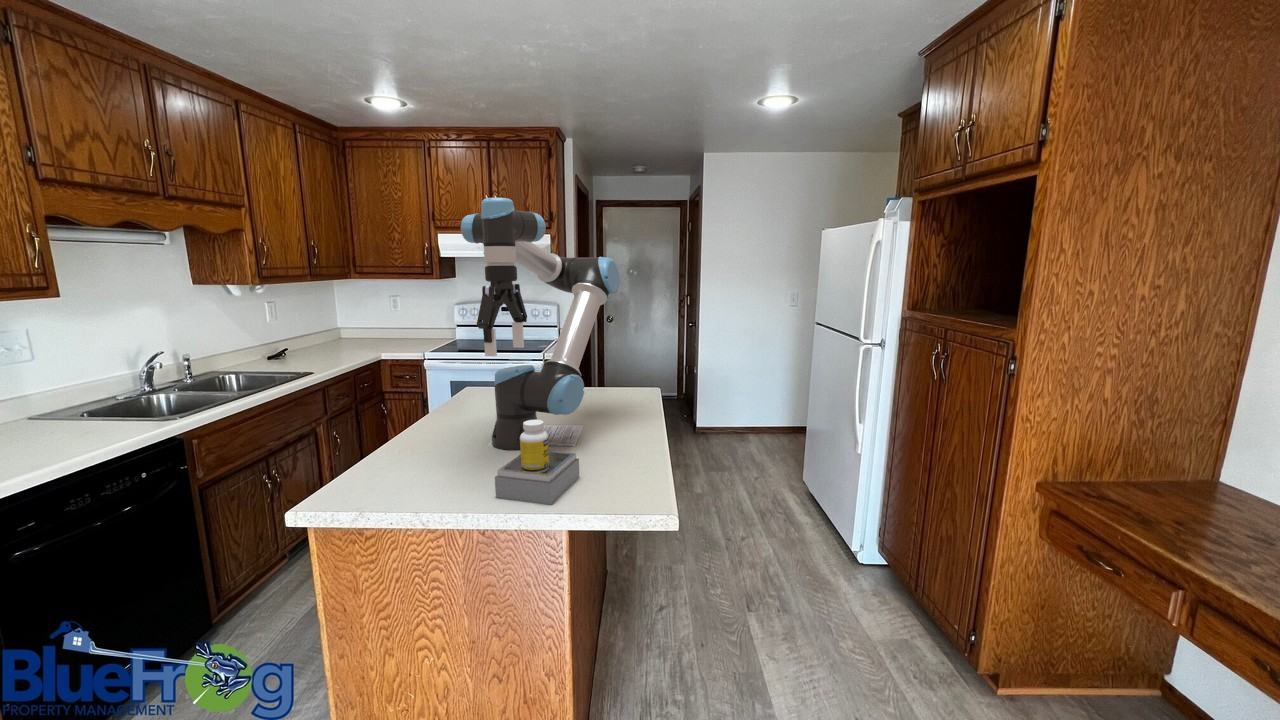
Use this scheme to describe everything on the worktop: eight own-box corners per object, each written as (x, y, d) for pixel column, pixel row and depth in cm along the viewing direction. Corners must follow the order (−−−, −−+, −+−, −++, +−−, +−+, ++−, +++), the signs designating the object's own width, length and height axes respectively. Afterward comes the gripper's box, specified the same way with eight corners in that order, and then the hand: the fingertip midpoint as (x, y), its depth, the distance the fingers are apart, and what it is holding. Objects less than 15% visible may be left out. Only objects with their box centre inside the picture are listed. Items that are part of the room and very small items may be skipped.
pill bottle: (543, 476, 120) (541, 427, 118) (516, 474, 121) (514, 425, 119) (553, 465, 126) (551, 419, 124) (528, 464, 127) (526, 417, 125)
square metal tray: (522, 471, 136) (521, 447, 135) (579, 477, 131) (578, 453, 130) (488, 496, 121) (486, 469, 120) (551, 504, 116) (550, 477, 115)
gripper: (512, 264, 139) (516, 343, 143) (456, 265, 116) (463, 359, 119) (537, 264, 137) (541, 344, 141) (486, 264, 114) (492, 360, 118)
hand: (505, 351), depth 130 cm, fingers open, 13 cm apart
